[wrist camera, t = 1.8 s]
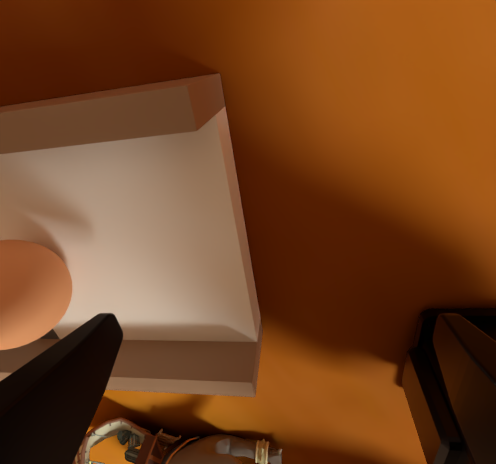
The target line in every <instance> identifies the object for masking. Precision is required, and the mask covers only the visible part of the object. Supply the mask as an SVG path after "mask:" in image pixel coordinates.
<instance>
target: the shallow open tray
mask: <svg viewBox="0 0 496 464" xmlns="http://www.w3.org/2000/svg"><path fill="white" fill-rule="evenodd" d="M0 240H24V241H29V242H34V243H37V244H39V245H42V246H44V247H46V248H48V249H50V250H51V251H53V252H54V253H55V254H57V255H58V256H59V257H60V258H61V259H62V261H63V262H64V263H65V265H66V266H67V268H68V270H69V272H70V275H71V279H72V297H71V301H70V304H69V307H68V309H67V311H66V313H65V315H64V316H63V317H62V319H61V320H60V321H59V323H58V324H57V325H56V326H55V327H54V328H53V329H51V330H50V331H49V332H48V333H46V334H45V335H44V336H42V337H40V338H39V339H37V340H35V341H33V342H31V343H29V344H26V345H23V346H20V347H17V348H12V349H7V350H0V381H1V380H3V379H4V378H6V377H7V376H9V375H10V374H12V373H13V372H14V371H16V370H17V369H19V368H20V367H22V366H23V365H25V364H26V363H28V362H29V361H30V360H32V359H33V358H35V357H36V356H38V355H39V354H41V353H42V352H43V351H45V350H46V349H48V348H49V347H51V346H52V345H54V344H55V343H57V342H58V341H59V340H61V339H62V338H64V337H65V336H67V335H68V334H70V333H71V332H73V331H74V330H75V329H77V328H78V327H80V326H81V325H83V324H84V323H86V322H87V321H89V320H90V319H91V318H93V317H94V316H96V315H97V314H99V313H113V314H114V315H115V316H116V318H117V320H118V322H119V324H120V326H121V328H122V330H123V340H122V343H121V346H120V349H119V352H118V355H117V358H116V361H115V364H114V367H113V370H112V373H111V376H110V378H109V381H108V384H107V387H106V389H105V390H124V391H144V392H165V393H185V394H205V395H225V396H245V397H255V395H256V386H257V377H258V368H259V359H260V350H261V342H262V333H263V330H262V324H261V318H260V312H259V306H258V300H257V294H256V288H255V282H254V276H253V270H252V264H251V258H250V252H249V246H248V240H247V233H246V227H245V221H244V215H243V209H242V203H241V197H240V191H239V185H238V179H237V173H236V167H235V161H234V155H233V149H232V143H231V137H230V131H229V125H228V119H227V113H226V107H225V101H224V95H223V89H222V83H221V77H220V73H217V74H210V75H204V76H197V77H191V78H184V79H178V80H171V81H165V82H158V83H151V84H145V85H138V86H132V87H125V88H119V89H112V90H106V91H99V92H93V93H86V94H79V95H73V96H66V97H60V98H53V99H47V100H40V101H34V102H27V103H21V104H14V105H8V106H1V107H0Z"/></svg>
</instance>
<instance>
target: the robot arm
mask: <svg viewBox="0 0 496 464" xmlns="http://www.w3.org/2000/svg"><path fill="white" fill-rule="evenodd" d="M432 320H433V321H432ZM122 340H123V330H122V328H121V326H120V324H119V322H118V320H117V318H116V316H115V315H114V314H113V313H99V314H97V315H96V316H94V317H93V318H91V319H90V320H89V321H87V322H86V323H84V324H83V325H81V326H80V327H78V328H77V329H75V330H74V331H73V332H71V333H70V334H68V335H67V336H65V337H64V338H62V339H61V340H59V341H58V342H57V343H55V344H54V345H52V346H51V347H49V348H48V349H46V350H45V351H43V352H42V353H41V354H39V355H38V356H36V357H35V358H33V359H32V360H30V361H29V362H28V363H26V364H25V365H23V366H22V367H20V368H19V369H17V370H16V371H14V372H13V373H12V374H10V375H9V376H7V377H6V378H4V379H3V380H1V381H0V464H73V462H74V459H75V457H76V455H77V453H78V450H79V448H80V446H81V444H82V441H83V439H84V437H85V435H86V432H87V430H88V428H89V426H90V423H91V421H92V419H93V417H94V414H95V412H96V410H97V408H98V405H99V403H100V401H101V399H102V396H103V394H104V392H105V389H106V387H107V384H108V381H109V378H110V376H111V373H112V370H113V367H114V364H115V361H116V358H117V355H118V352H119V349H120V346H121V343H122ZM402 385H403V389H404V392H405V395H406V398H407V401H408V404H409V408H410V411H411V414H412V417H413V420H414V423H415V427H416V430H417V433H418V436H419V439H420V442H421V446H422V449H423V452H424V455H425V458H426V461H427V464H496V308H487V309H428V310H425V311H423V312H422V313H421V314H420V316H419V319H418V324H417V329H416V334H415V339H414V344H413V347H411V348H410V349H409V350H408V352H407V356H406V361H405V366H404V371H403V377H402Z"/></svg>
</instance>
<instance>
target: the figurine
mask: <svg viewBox="0 0 496 464" xmlns="http://www.w3.org/2000/svg"><path fill="white" fill-rule="evenodd" d="M162 431H163V429H161V430H160V431H159V432H158V434H155V435H154V436H153V435H152V434H151V432H150V431H149V430H146V429H144V428H142V427H139V426H137V425H136V424H135V423H134V422H131V421H129V420H127V419H125V418H122V417H119V418H115V419H111V420H107V421H105V422H103V423H101V424H100V425H98V426H96V427H94V428H93V429H91V430H90V431H89V432H88V433H87V434H86V435H85V437H84V439H83V441H82V444H81V446H80V448H79V450H78V453H77V455H76V457H75V459H74V462H73V464H93V463H97V462H95V461H90V460H89V452H90V448H91V447H93V446H95V445H96V444H98V443H99V442H101V441H102V440H104V439H106V438H108V437H111V436H114V435H117V438H118V440H119V441H120V443H121V444H122V445H125V444H126V442H127V441H128V450H127V451H126V452H125V459H126V460H127V461H129V462H132V463H134V464H243V463H242V462H241V460H240V459H238V458H236V457H237V456H245V457H249V458H252V459H255V463H259V464H268V462H270V463H271V464H282V453H281V452H282V449H278V450H277V449H275V448H272V447H269V441H267V442H266V441H265V439H264V438H263V440H262V441H259V440H258V441H257V442H252V441H249V440H245V439H242V438H239V437H236V436H232V435H227V434H215V435H211V436H208V437H205V438H202V439H200V440H199V437H200V436H197V437H194V438H192V439H188V440H186V441H184V442H183V443H181V444H180V445H179V446H177V447H175V448H174V449H172V450H171V451H169V452H167V453H166V454H163V451H164V450H165V449H167V448H168V447H169V446H171V445H172V444H173V443H175V442H176V441H177V440H179V439H180V438H181V435H180V436H179V437H177V438H176V437H173V436H171V435H168V434H165V433H162ZM124 435H125V436H124ZM160 435H161V436H160ZM126 436H127V437H126ZM163 436H164V437H163ZM166 437H167V438H166ZM131 438H132V445H131ZM169 438H170V439H169ZM172 439H173V440H172ZM138 443H139V444H138ZM140 443H141V444H142V446H141V449H140V450H138V449H135V447H138V446H140V445H141V444H140ZM160 445H163V446H166V447H165V448H164V449H163V451H162V449H161V446H160ZM92 462H93V463H92ZM98 463H99V464H103V463H101V462H98ZM98 463H97V464H98ZM104 464H105V463H104Z"/></svg>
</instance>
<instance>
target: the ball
mask: <svg viewBox="0 0 496 464" xmlns="http://www.w3.org/2000/svg"><path fill="white" fill-rule="evenodd" d="M71 297H72V279H71V275H70V272H69V270H68V268H67V266H66V265H65V263H64V262H63V261H62V259H61V258H60V257H59V256H58V255H57V254H55V253H54V252H53V251H51V250H50V249H48V248H46V247H44V246H42V245H39V244H37V243H34V242H29V241H24V240H0V350H7V349H12V348H17V347H20V346H23V345H26V344H29V343H31V342H33V341H35V340H37V339H39V338H40V337H42V336H44V335H45V334H46V333H48V332H49V331H50V330H51V329H53V328H54V327H55V326H56V325H57V324H58V323H59V321H60V320H61V319H62V317H63V316H64V315H65V313H66V311H67V309H68V307H69V304H70V301H71Z"/></svg>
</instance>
